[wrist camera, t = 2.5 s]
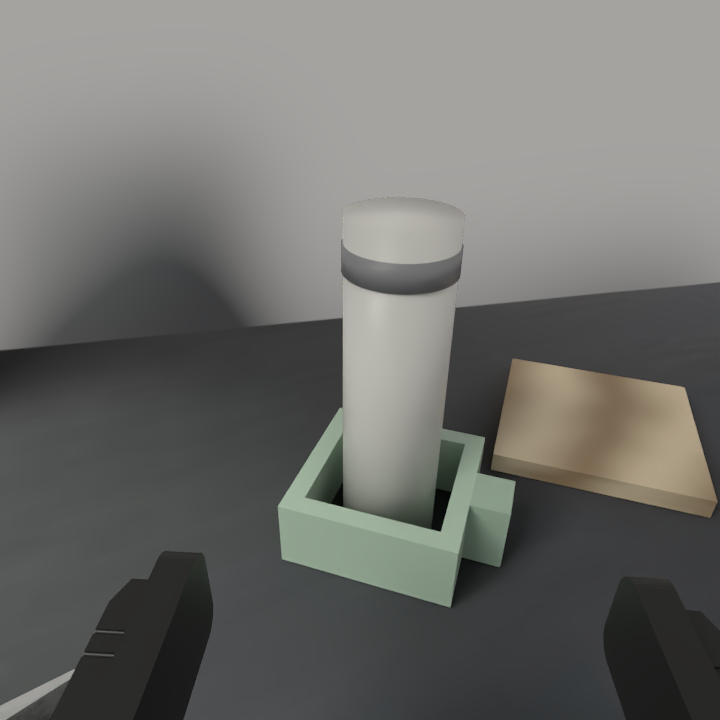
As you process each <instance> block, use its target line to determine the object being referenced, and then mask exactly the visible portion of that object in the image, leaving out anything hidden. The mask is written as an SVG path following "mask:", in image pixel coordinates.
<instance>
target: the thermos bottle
mask: <svg viewBox="0 0 720 720" xmlns="http://www.w3.org/2000/svg"><path fill="white" fill-rule="evenodd" d="M464 223H465V215H464V213H463V212H462V211H461V210H459V209H458V208H456V207H454V206H451V205H449V204H446V203H442V202H438V201H433V200H427V199H419V198H405V197H390V198H389V197H387V198H375V199H368V200H363V201H359V202H356V203H353V204H351V205H349V206H347V207H346V208H345V209H344V210H343V238H342V241H341V242H342V243H341V272H342V275H343V507H344V508H348V509H352V510H356V511H360V512H364V513H368V514H372V515H376V516H380V517H384V518H387V519H391V520H395V521H399V522H403V523H407V524H411V525H415V526H419V527H423V528H427V529H431V527H432V517H433V508H434V499H435V490H436V481H437V471H438V462H439V453H440V444H441V435H442V425H443V416H444V407H445V398H446V388H447V379H448V370H449V361H450V352H451V342H452V333H453V324H454V315H455V306H456V296H457V287H458V280H459V278H460V273H461V264H462V255H463V243H462V241H463V232H464Z"/></svg>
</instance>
